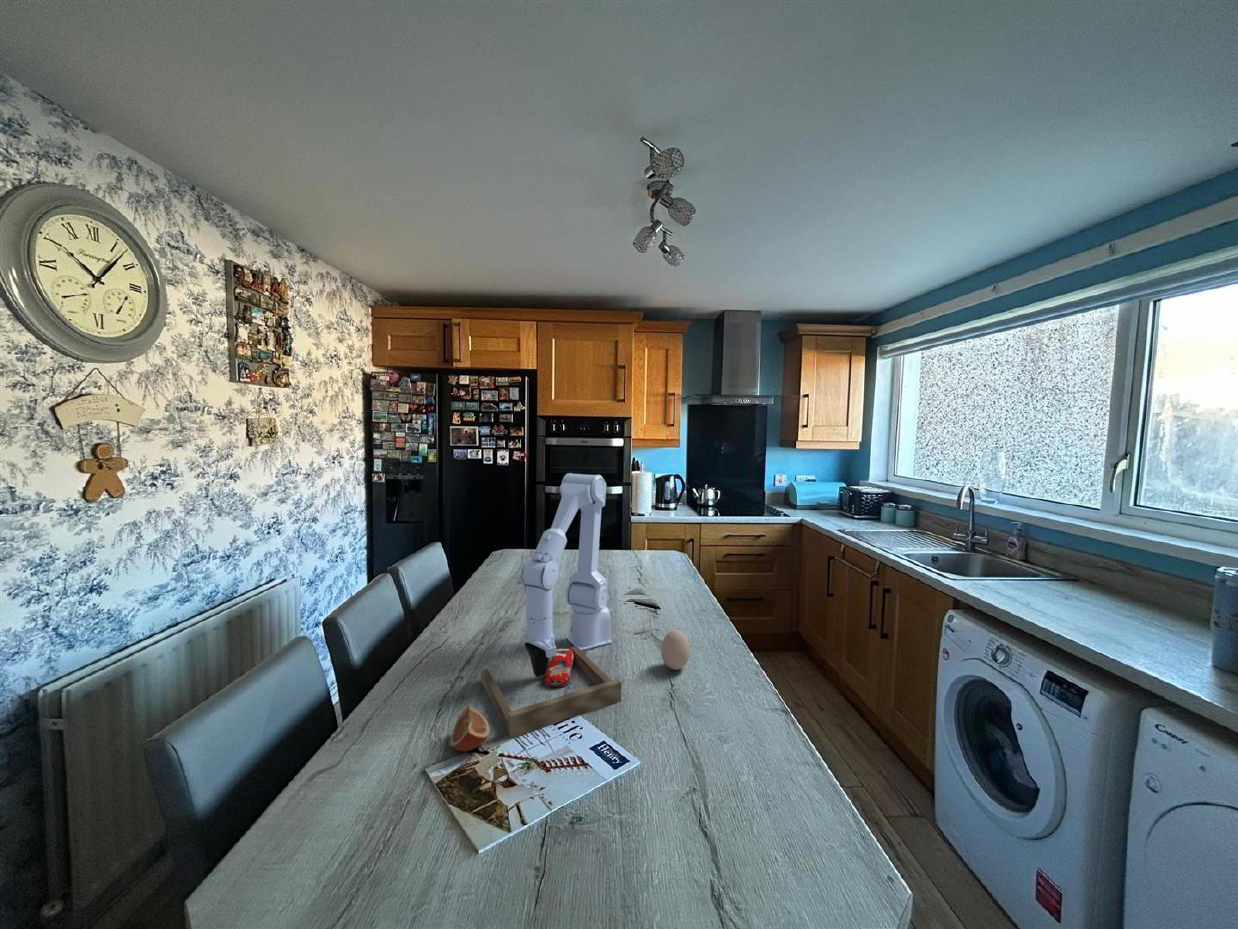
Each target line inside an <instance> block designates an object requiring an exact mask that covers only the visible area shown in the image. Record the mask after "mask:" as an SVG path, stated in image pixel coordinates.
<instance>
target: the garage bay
mask: <svg viewBox="0 0 1238 929" xmlns="http://www.w3.org/2000/svg"><path fill="white" fill-rule="evenodd" d="M570 650H572V651H573V655H574V663H576V664H577V665H578V666H579V668H580V669H581V670H582V671H583V672H584V673H585V674H586V675H587V676H588V677H589V678H590V679H591V680H592V681H593V682H594V683H595V684H596V685H593V686H590V687H587V688H586V687H585V688H583V689H580V690H576V691H574V692H573V691H572V692H569V693H567V694H562V695H560V696H556V697H553V698H550V699H547V700H544V701H540V702H537V703H534V704H530V705H528V706H524V707H520V708H518V709H514V710H512V708H511V706H510V705H509V703H508V702H507V700H506V698H505V696H504V694H503V692H501V689H500V688H499V685H498V684H497V682H496V681H495V679H494V677H493V675H492V674H491V672H490V670H489V668H484V669H481V670H480V683H481V684H482V686H483V688H484V690H485V692H486V694H487V696H488V698H489V700H490V701H491V703H492V707H494V709H495V711H496V714H497V715H498V717H499V719H500V721H501V723H502V725H503V726H504V727H503V728H504V729H505V731H506V733H507V735H508V736H509V738H510V739H513V738H515V737H518V736H520V735H524V734H527V733H530V732H533V731H536V730H539V729H542V728H545V727H548V726H550V724H551V725H554V724H557V723H560V722H563V721H566V720H569V719H572V718H575V717H578V716H580V715H583V714H587V713H589V712H594V711H595V710H599V709H602V708H604V707H607V706H610V705H611V706H612V705H614V704H617V703H619V702H622V681H621V680H620V679H619V678H616V679H611V677H610V676H608V675H607V674H606V673H605V671H604V670H602V669H601V668H600V667H599V666H598V665H597V663H595V662H593V661H592V659H591V658H590V657H588V656H587V655H586V654H585V652H584V651H583V650H582V651H581V650H580V649H579V648H578V647H577V646H572V647H570ZM568 718H569V719H568ZM565 719H566V720H565Z"/></svg>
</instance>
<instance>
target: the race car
mask: <svg viewBox="0 0 1238 929" xmlns="http://www.w3.org/2000/svg"><path fill="white" fill-rule="evenodd" d="M574 663H575V661H574V655H573V651H572V650H571V648H556V656H553V657H551V659H550V660H549V663H548V665H547V669H546V673H545V675H544V683H545V685H546V686H547V687H551V688H561V687H565V686H568V685H569V682H570V680H571V674H572V671H573V666H574V665H575V664H574Z"/></svg>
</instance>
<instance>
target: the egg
mask: <svg viewBox="0 0 1238 929" xmlns="http://www.w3.org/2000/svg"><path fill="white" fill-rule="evenodd" d="M690 647H691V646H690V643H689V640H688V639H687V636H686V635H685V634H684V633H683V632H682V631H681V630H679V629H672V630H669V631H668V632H667V633H666V635H665V636H664V638H663V639H662V641H661V647H660V651H661V654H660V655H661V659H662V660H663V662H664V664H665V665H666V666H667V667H668V668H669V669H671V670H674V671H677V670H680V669H683V667H685V666H686V665H687V663H688V662H689V660H690V655H691V648H690Z"/></svg>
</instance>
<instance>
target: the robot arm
mask: <svg viewBox="0 0 1238 929" xmlns="http://www.w3.org/2000/svg"><path fill="white" fill-rule="evenodd" d="M559 488H560V489H559V490H560V491H559V492H560V496H561V499H560V502H559V505H558V508H557V510H556V513H555V516H554V519H553V521H552V524H551V527H550V528H548V529H546V530H545V531H543V533H542V535H541V537H540V540H539V543H538V544H537V547H536V549H535V550H534V552H533V555H532V558H531V559H529V560H528V561H526V562H525V563H524V564H523V566H522V567H521V571H520V574H519V581H520V583H521V585H522V587H523V590H522V591H523V594H525V622H524V626H523V627H524V633H525V634H524V635H521V637H520V641H521V642H522V643H524V647H525V648H526V651H527V652H528V654H529V655H528V656H529V658H530V663H531V667H532V672H533V675H534V676H535V677H536V678H538V677H543V676H545V675H546V673H547V669H548V666H547V665H548V664H549V662H550V658H552V657H553V656H556V650H557V646H556V643H555V635H554V630H553V625H554V624H553V610H554V608H553V588H554V587H555V585H556V583H557V581H558V578H559V568H560V563H559V562H560V560H561V557H562V555H563V552H564V550H565V548H566V545H567V543H568V539H567V537H566V533H567V531H568V530H569V528H570V525H571V524H572V522H573V520H574V518H575V516H576V515H577V512H578V511H579V510H580V511H581V513H580V529H579V542H578V544H579V545H578V556H577V557H578V559H577V560H578V561H577V570H576V571H575V572H574V573H573V574H572V575H570V576H569V578H568V583H567V587H566V591H565V599H566V603H567V604H568V605H570V609H571V610H572V635H570V636H567V637H566V639H567V640H568V642H570V644H571V645H573V647H575V646H577V647H578V648H579V649H580V650H581V651H582V652H583V651H586V650H589V649H593V648H597V647H600V646H605V645H608V644H611V643H613V641H612V639H611V638H612V637H611V636H612V635H611V634H612V633H611V632H612V631H611V628H612V627H611V625H612V618H611V613H610V610H609V608H608V606H607V604H608V599H609V591H608V581H607V578H605V577H604V576H603V575H602V574H601V573H600V572H599V571H598V569H599V565H598V564H599V554H600V553H599V551H600V538H601V537H600V536H601V534H600V533H601V520H602V508H604V507H605V506H606V496H607V495H606V494H607V483H606V481H605V479H604V478H603V476H602V475H600V474H582V473H572V472H569V473H566V474H565V475H564V476H563V478H562V481H561V485H560V486H559Z"/></svg>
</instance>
